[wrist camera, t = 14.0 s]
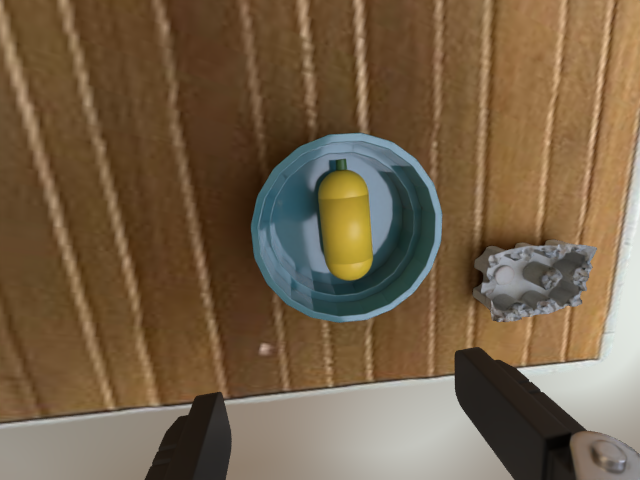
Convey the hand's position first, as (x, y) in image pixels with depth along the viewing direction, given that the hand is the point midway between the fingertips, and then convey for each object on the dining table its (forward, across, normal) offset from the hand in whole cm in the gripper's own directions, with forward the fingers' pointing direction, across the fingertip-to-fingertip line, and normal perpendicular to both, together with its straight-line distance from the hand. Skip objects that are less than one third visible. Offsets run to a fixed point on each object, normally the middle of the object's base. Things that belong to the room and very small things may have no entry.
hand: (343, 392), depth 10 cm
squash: (+20, -4, -2) cm, 20 cm away
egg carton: (+20, -22, +6) cm, 31 cm away
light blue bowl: (+20, -4, -2) cm, 21 cm away
